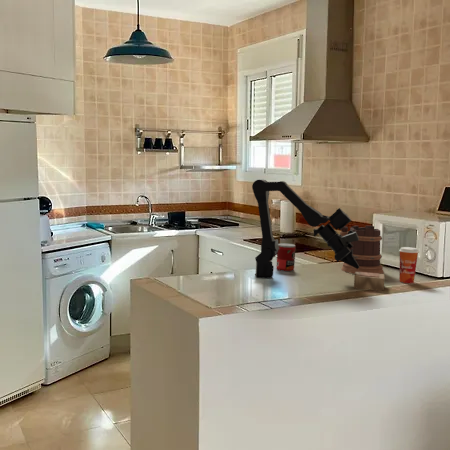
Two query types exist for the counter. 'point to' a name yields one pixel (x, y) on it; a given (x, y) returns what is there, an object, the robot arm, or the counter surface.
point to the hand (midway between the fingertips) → (358, 267)
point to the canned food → (286, 257)
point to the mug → (365, 250)
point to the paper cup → (408, 264)
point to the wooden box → (369, 281)
